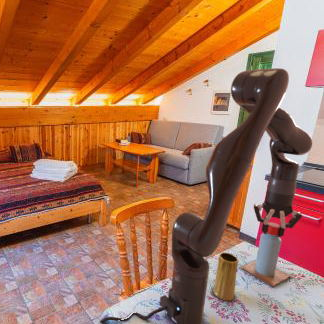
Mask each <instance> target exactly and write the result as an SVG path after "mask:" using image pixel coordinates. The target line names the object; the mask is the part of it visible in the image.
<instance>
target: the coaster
mask: <svg viewBox="0 0 324 324" xmlns="http://www.w3.org/2000/svg"><path fill="white" fill-rule="evenodd" d="M255 264H256V260H254V261H251V262H250V263H248V264H245V265H243V266H241V268H240V269H241V270H244V271H245V272H247V273H248V274H250V275H251V276H254V277H256V278H257V279H259V280H260V281H262V282H264V283H266V284H267V285H269V286H271V287H275V286H277V285H279V284H280V283H283V282H285V281H286V280H289V279H290V278H291V275H290V274H288V273H285V272H283V271H282V270H279V269H278V268H276V270H275V274H274V276H265V275H262V274H260V273H258V272H257V271H256V270H255Z"/></svg>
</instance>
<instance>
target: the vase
mask: <svg viewBox="0 0 324 324" xmlns="http://www.w3.org/2000/svg"><path fill="white" fill-rule="evenodd" d="M238 264H239V258H238V257H237V256H236V255H235V254H232V253H230V252H221V253H219V255H218V262H217V269H216V274H215V281H214V287H213V288H212V291H213V294H214V295H215V296H216V297H217V298H219V299H221V300H223V301H233V300H234V298H235V291H236V282H237V273H238Z"/></svg>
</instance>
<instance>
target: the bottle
mask: <svg viewBox="0 0 324 324" xmlns="http://www.w3.org/2000/svg"><path fill="white" fill-rule="evenodd" d="M281 245H282V238H281V237H278V235H271V234H268V233H267V232H266V234H264V232H262V233H261V234H260V237H259V243H258V249H257V254H256V259H255V261H256V264H255V270H256V271H257V272H258V273H260V274H262V275H265V276H274V274H275V270H276V269H277V266H278V265H277V264H278V259H279V255H280V251H281Z"/></svg>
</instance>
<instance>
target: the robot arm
mask: <svg viewBox="0 0 324 324" xmlns="http://www.w3.org/2000/svg"><path fill="white" fill-rule="evenodd" d="M289 81H290V76H289V72H288V71H287V70H286V69H285V68H280V67H277V68H276V67H275V68H257V69H247V70H243V71H241V72H239V73H238V74H237V75H236V76H235V77H234V79H233V80H232V82H231V86H230V96H231V98H232V100H233V101H234V102H235V104H236V105H238V106H239V107H240V108H241V109H243V110H244V111H245V112H246V113H247V114H249V115H248V116H247V117H246V119H245V120H244V121H242V123H240V125H238V126H237V127H236V128H234V129H233V130H232V131H231V132H229V133H228V134H227V135H225V136H224V137H223V138H222V139H221V140H219V142H218V143H217V144H216V145H214V148H213V150H212V152H211V155H210V157H209V160H208V162H207V164H206V167H205V178H206V184H207V190H208V199H209V200H208V206H207V210H206V213H205V215H204V218H203V217H201V216H200V215H197V214H195V213H193V212H190V211H185V212H182V213H181V214H179V215H178V216H177V217H176V219H175V220H174V222H173V226H172V232H171V257H172V260H173V265H172V276H171V288H169V289H168V295H166V294H163V295H162V296H160V297H159V306H160V307H159V308H157V309H154V310H153V311H151V312H149V313H148V314H147V315H143V314H141V313H139V312H137V311H135V312H136V313H133V314H132V315H131V316H130V317H129V318H127V319H124V320H121V319H122V318H123V317H116V316H106V317H104V318H102V319H101V320H100V321H99V323H100V324H104V323H105V322H108V321H115V322H127V321H129V320H130V319H131V318H132V317H134V316H137V317H138V318H140V319H143V320H149V319H151V318H152V317H153V316H154V315H156V314H158V313H161V312H164V311H165V312H166V316H167V317H168V318H169V319H170V320H171V321H172V322H173V323H174V324H203V323H204V313H205V312H204V311H205V305H206V297H207V288H208V281H209V275H210V274H209V273H210V264H209V261H208V259H207V258H208V257H210V256H212V255H213V254H214V253H215V252H216V250H217V249H218V248H219V246H220V244H221V241H222V238H223V236H224V233H225V230H226V226H227V223H228V221H229V217H230V214H231V211H232V208H233V205H234V203H235V200H236V198H237V196H238V193H239V191H240V189H241V187H242V184H243V182H244V181H245V179H246V177H247V174H248V172H249V169H250V167H251V165H252V163H253V160H254V157H255V155H256V152H257V150H258V147H259V145H260V144H261V140H262V138H263V136H264V134H265V133H266V134H267V135H268V137H269V138H270V139H269V151H270V158H271V168H270V169H271V171H270V175H269V178H268V182H267V185H266V191H265V198H264V201H263V202H262V203H261V204H256V203H254V204H253V211H254V213H255V216H256V220H257V222H259V223H261V232H262V233H264V234H266V232H267V226H268V223H269V222H270V220H271V219H272V218H277V219H279V222H280V224H279V225H280V229H279V234H278V237H280V238H281V237H284V235H285V230H286V229H293V228H294V227H295V225H296V224H297V223H298V222H299V221H300V220H301V219H302V218H303V215H302V213H301V212H300V211H296V210H294V208H293V203H294V200H295V194H296V189H297V181H298V174H299V170H300V164H299V163H298V162H296V161H294V160H291V159H289V158H287V157H286V156H285V155H293V156H303V155H306V154H308V153H309V152H310V151H311V149H312V148H313V140H312V137H311V135H310V134H309V133H308V132H307V131H305V130H304V129H302V128H301V127H300V126H298V125H296V123H295V120H294V119H293V117H292V116H291V114H290V113H288V111H286V110H284V109H283V108H281V107H280V105H281V104H282V101H283V99H284V98H285V95H286V93H287V90H288V86H289V83H290V82H289ZM262 209H263V210H264V212H265V215H264V217H262V215H261V211H262ZM289 215H291V216H292V217H291V218H290V220H288V221H287V222H286V217H288V216H289ZM131 313H132V312H130V313H129V314H128V315H127V316H126V317H128V316H129V315H130V314H131ZM118 320H120V321H118Z"/></svg>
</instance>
